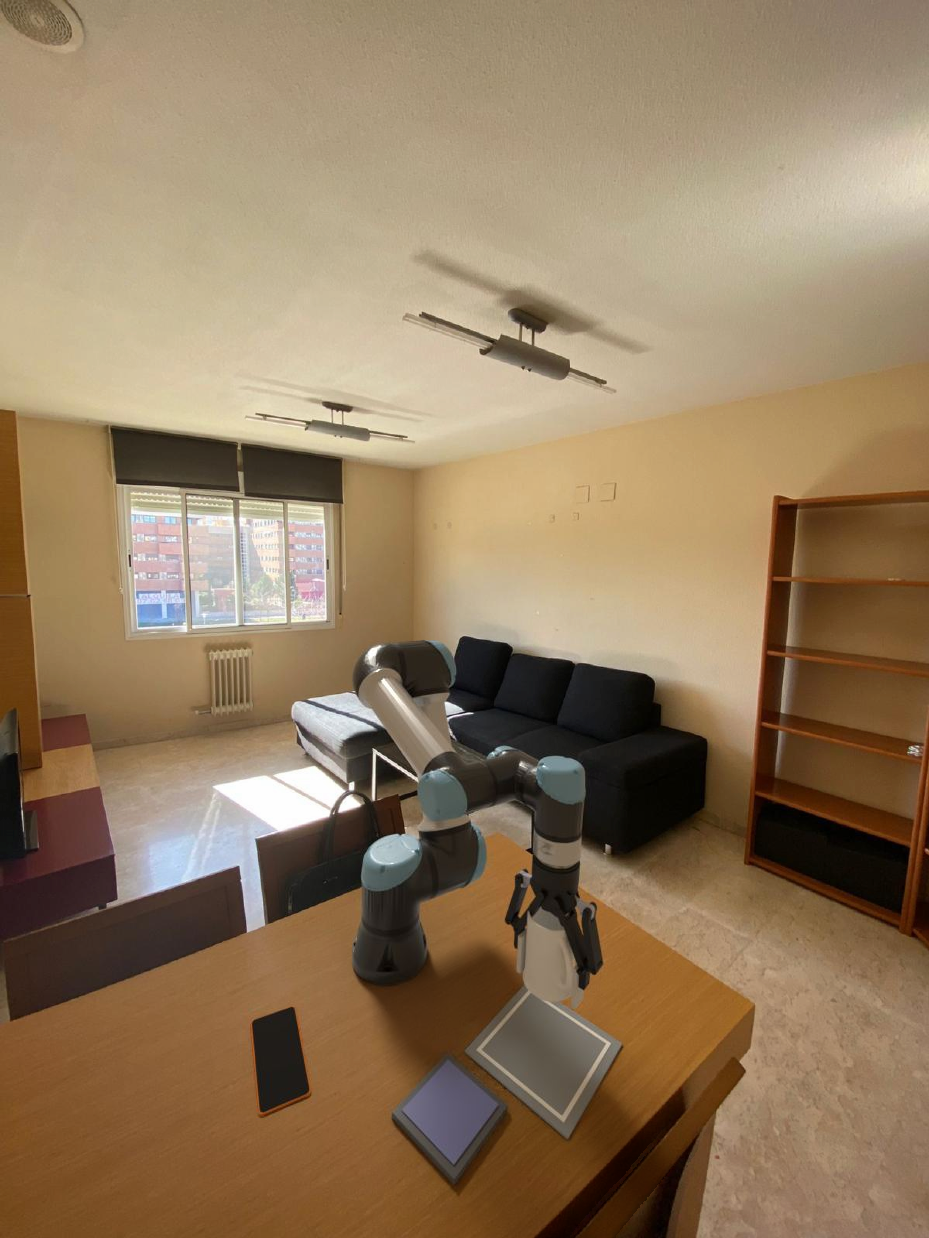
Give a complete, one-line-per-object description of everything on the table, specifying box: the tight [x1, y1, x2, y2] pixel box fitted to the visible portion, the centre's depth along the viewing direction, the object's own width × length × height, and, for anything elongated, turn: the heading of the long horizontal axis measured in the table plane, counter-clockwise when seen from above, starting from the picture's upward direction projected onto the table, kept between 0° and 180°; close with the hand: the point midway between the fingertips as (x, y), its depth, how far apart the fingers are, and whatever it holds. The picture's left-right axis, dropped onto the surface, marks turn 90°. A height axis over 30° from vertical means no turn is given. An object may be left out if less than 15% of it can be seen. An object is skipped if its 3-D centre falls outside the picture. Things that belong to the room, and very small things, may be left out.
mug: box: [522, 907, 576, 1002], centre depth 82 cm, size 12×8×12 cm
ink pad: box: [391, 1052, 509, 1186], centre depth 73 cm, size 12×12×1 cm
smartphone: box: [250, 1005, 312, 1118], centre depth 81 cm, size 8×17×1 cm, turn 27°
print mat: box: [463, 983, 623, 1141], centre depth 84 cm, size 19×19×1 cm
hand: (548, 984), depth 83 cm, fingers closed on mug, 9 cm apart
